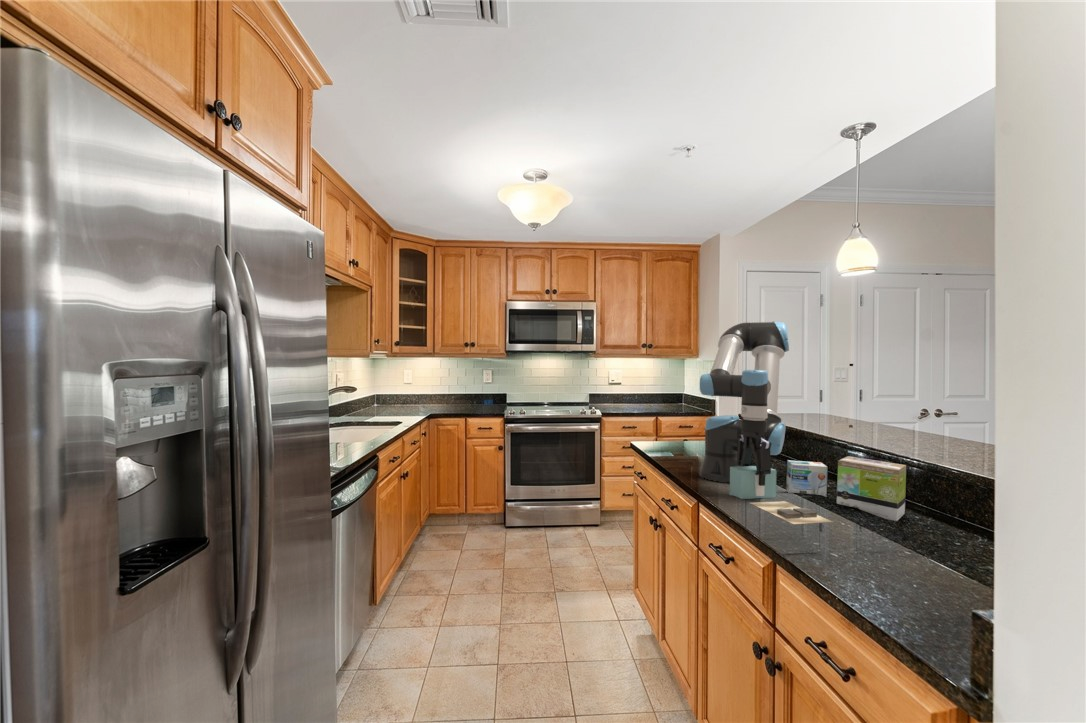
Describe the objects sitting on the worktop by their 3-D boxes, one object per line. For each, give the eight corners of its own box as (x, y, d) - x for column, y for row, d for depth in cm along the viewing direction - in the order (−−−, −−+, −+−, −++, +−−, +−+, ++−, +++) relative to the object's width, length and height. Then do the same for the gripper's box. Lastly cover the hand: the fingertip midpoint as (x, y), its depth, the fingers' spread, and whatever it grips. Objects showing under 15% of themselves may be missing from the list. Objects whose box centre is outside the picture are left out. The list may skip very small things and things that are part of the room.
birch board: (749, 507, 137) (749, 502, 137) (785, 506, 139) (785, 501, 139) (793, 529, 119) (793, 524, 119) (833, 527, 121) (833, 521, 121)
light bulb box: (790, 497, 149) (791, 463, 149) (785, 491, 155) (786, 459, 155) (827, 500, 146) (828, 466, 146) (821, 494, 152) (821, 462, 152)
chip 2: (793, 512, 128) (793, 508, 128) (805, 512, 129) (805, 507, 129) (803, 517, 124) (803, 513, 124) (816, 517, 125) (816, 512, 125)
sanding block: (729, 498, 147) (730, 466, 146) (763, 496, 149) (763, 465, 149) (741, 503, 141) (741, 471, 141) (775, 502, 143) (776, 470, 143)
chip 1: (777, 513, 127) (777, 509, 127) (789, 513, 128) (790, 508, 128) (787, 518, 123) (787, 514, 123) (800, 517, 124) (800, 513, 124)
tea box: (835, 508, 138) (836, 459, 138) (845, 502, 144) (846, 455, 144) (898, 522, 126) (899, 468, 126) (906, 514, 133) (906, 463, 133)
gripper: (725, 415, 153) (724, 484, 153) (763, 423, 135) (761, 502, 135) (745, 415, 155) (744, 484, 155) (785, 422, 136) (784, 501, 136)
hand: (752, 492), depth 145 cm, fingers closed on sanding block, 6 cm apart
